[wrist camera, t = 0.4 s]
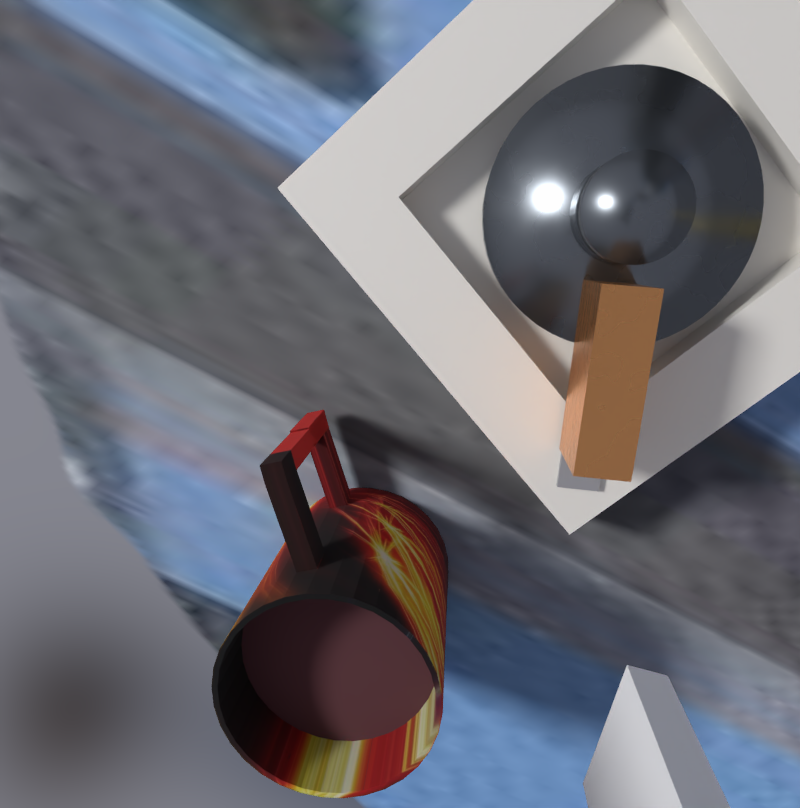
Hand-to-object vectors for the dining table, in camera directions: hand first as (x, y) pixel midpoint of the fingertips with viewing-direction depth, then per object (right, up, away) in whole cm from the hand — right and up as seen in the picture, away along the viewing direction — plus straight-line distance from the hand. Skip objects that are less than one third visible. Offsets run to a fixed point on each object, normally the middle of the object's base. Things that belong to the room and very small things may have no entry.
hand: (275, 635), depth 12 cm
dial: (+12, +11, +19) cm, 25 cm away
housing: (+12, +14, +20) cm, 28 cm away
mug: (-1, -3, +26) cm, 26 cm away
